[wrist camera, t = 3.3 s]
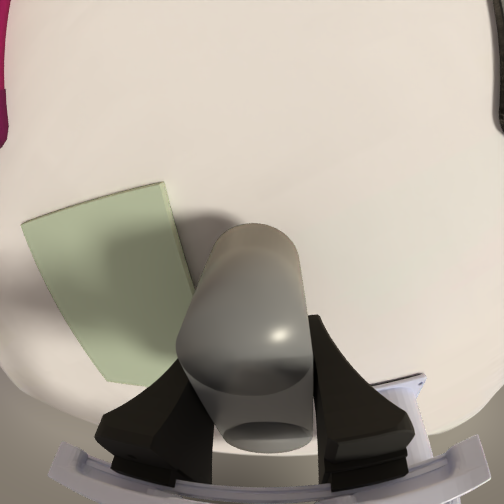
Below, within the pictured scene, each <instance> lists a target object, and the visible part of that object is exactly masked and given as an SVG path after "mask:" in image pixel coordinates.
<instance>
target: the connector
mask: <svg viewBox="0 0 504 504" xmlns="http://www.w3.org/2000/svg"><path fill="white" fill-rule="evenodd" d="M176 353H177V357H178V359H179V362H180V363H181V365H182V367H183V369H184V371H185V373H186V375H187V377H188V379H189V381H190V382H191V384H192V386H193V388H194V390H195V391H196V393H197V395H198V397H199V399H200V400H201V402H202V404H203V405H204V407H205V409H206V411H207V412H208V414H209V416H210V417H211V419H212V420H213V422H214V424H215V425H216V427H217V429H218V430H219V432H220V433H221V435H222V436H223V438H224V439H225V441H226V442H227V443H229V444H230V445H232V446H234V447H236V448H239V449H242V450H245V451H250V452H256V453H282V452H288V451H293V450H296V449H299V448H301V447H303V446H305V445H307V444H308V443H309V442H310V441H311V439H312V429H313V352H312V344H311V336H310V328H309V321H308V314H307V307H306V300H305V293H304V286H303V280H302V274H301V267H300V261H299V255H298V252H297V249H296V247H295V245H294V244H293V242H292V241H291V240H290V239H289V238H288V237H287V236H286V235H285V234H284V233H283V232H281V231H280V230H278V229H276V228H274V227H271V226H268V225H265V224H258V223H249V224H243V225H239V226H236V227H234V228H231V229H229V230H228V231H226V232H225V233H224V234H223V235H222V236H221V237H220V238H219V239H218V240H217V241H216V243H215V245H214V247H213V249H212V252H211V254H210V256H209V259H208V261H207V263H206V266H205V268H204V271H203V273H202V276H201V278H200V280H199V283H198V285H197V288H196V290H195V293H194V295H193V298H192V300H191V303H190V305H189V308H188V310H187V313H186V315H185V318H184V320H183V323H182V325H181V328H180V331H179V333H178V336H177V338H176Z"/></svg>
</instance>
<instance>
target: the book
mask: <svg viewBox="0 0 504 504" xmlns="http://www.w3.org/2000/svg"><path fill="white" fill-rule="evenodd" d="M10 1H11V0H0V148H2V146H3V145H4V143H5V141H6V140H7V134H8V127H9V125H8V116H7V105H6V89H4V52H5V38H6V28H7V20H8V13H9V7H10Z"/></svg>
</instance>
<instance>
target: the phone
mask: <svg viewBox="0 0 504 504" xmlns="http://www.w3.org/2000/svg"><path fill="white" fill-rule="evenodd" d="M493 4H494V10H495V16H496V22H497V29H498V38H499V50H500V76H501V81H500V108H499V119H500V124H501V127H502V129H503V131H504V0H493Z"/></svg>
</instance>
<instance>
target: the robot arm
mask: <svg viewBox="0 0 504 504" xmlns="http://www.w3.org/2000/svg"><path fill="white" fill-rule="evenodd" d="M308 321H309V328H310V336H311V344H312V352H313V398H314V403H315V410H316V423H317V441H318V463H319V464H318V467H319V484H318V485H308V486H296V487H235V486H234V487H233V486H220V485H212V447H213V433H214V422H213V420H212V419H211V417H210V416H209V414H208V412H207V411H206V409H205V407H204V405H203V404H202V402H201V400H200V399H199V397H198V395H197V393H196V391H195V390H194V388H193V386H192V384H191V382H190V381H189V379H188V377H187V375H186V373H185V371H184V369H183V367H182V365H181V363H180V362H179V359H178V358H177V360H176V361H175V362H174V363H173V364H172V365H171V366H170V367H169V369H168V370H167V371H166V372H165V373H164V374H163V375H162V376H161V377H160V378H158V379H157V380H156V381H155V382H154V383H153V384H152V385H150V386H149V387H148V388H147V389H145V390H144V391H143V392H141V393H140V394H139V395H137V396H136V397H134V398H133V399H131V400H130V401H128V402H127V403H125V404H123V405H122V406H120V407H118V408H116V409H114V410H112V411H110V412H108V413H106V414H104V415H103V417H102V419H101V422H100V424H99V426H98V429H97V431H96V434H95V439H96V441H97V442H98V443H99V444H100V445H101V446H102V447H104V448H105V449H106V450H108V451H109V452H110V453H112V454H113V455H114V459H113V461H112V463H109V462H107V461H104V460H101V459H98V458H95V457H92V456H90V455H88V454H87V453H86V452H85V451H83V450H82V449H80V448H78V447H77V446H74V445H72V444H70V443H67V442H65V441H62V442H61V444H60V446H59V449H58V451H57V453H56V455H55V458H54V460H53V463H52V465H51V467H50V470H49V472H48V477H50V478H52V479H53V480H55V481H57V482H58V483H60V484H62V485H64V486H65V487H67V488H69V489H71V490H73V491H74V492H76V493H78V494H81V495H82V496H84V497H87V498H89V499H91V500H93V501H95V502H98V503H100V504H213V503H204V502H198V501H191V500H186V499H184V498H183V497H181V496H187V497H193V498H200V499H207V500H215V501H225V502H238V503H298V502H311V501H316V502H315V503H314V504H461V501H460V496H462V495H464V494H466V493H468V492H470V491H472V490H474V489H475V488H477V487H479V486H480V485H482V484H484V483H485V482H487V481H489V480H490V479H491V475H490V471H489V468H488V464H487V461H486V457H485V454H484V451H483V448H482V445H481V442H480V439H479V436H478V435H477V434H476V435H474V436H472V437H470V438H467V439H465V440H463V441H461V442H459V443H457V444H455V445H453V446H452V447H451V448H449V449H448V450H447V452H446V453H443V454H441V455H438V456H436V457H433V454H432V450H431V446H430V443H429V439H428V435H427V432H426V429H425V425H424V422H423V419H422V416H421V412H420V409H419V406H418V403H417V400H416V399H417V397H418V395H419V393H420V391H421V389H422V387H423V385H424V383H425V381H426V379H427V377H426V375H425V374H421V375H418V376H414V377H410V378H406V379H402V380H398V381H394V382H390V383H385V384H381V385H376V386H371V385H370V384H369V383H367V382H366V381H365V380H364V379H363V378H362V377H361V376H360V375H359V374H358V373H357V371H356V370H355V369H354V368H353V367H352V366H351V365H350V363H349V362H348V361H347V360H346V358H345V357H344V356H343V355H342V353H341V352H340V351H339V349H338V348H337V346H336V345H335V343H334V342H333V340H332V339H331V337H330V335H329V334H328V332H327V330H326V328H325V327H324V325H323V323H322V320H321V318H320V316H319V315H318V314H317V315H309V316H308ZM174 494H177V495H174ZM178 495H181V496H178Z"/></svg>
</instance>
